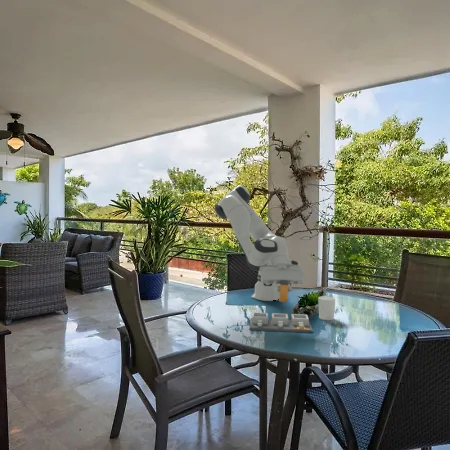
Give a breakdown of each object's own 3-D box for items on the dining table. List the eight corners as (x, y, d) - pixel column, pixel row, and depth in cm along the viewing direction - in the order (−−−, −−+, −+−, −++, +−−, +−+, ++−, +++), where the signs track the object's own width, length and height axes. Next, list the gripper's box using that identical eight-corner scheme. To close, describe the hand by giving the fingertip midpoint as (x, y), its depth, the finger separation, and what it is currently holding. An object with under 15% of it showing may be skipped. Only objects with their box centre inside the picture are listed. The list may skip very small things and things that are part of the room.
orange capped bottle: (277, 300, 163) (278, 280, 163) (285, 299, 164) (285, 280, 164) (281, 302, 159) (282, 282, 159) (289, 302, 160) (290, 282, 160)
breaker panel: (250, 320, 170) (250, 311, 170) (308, 322, 167) (308, 314, 167) (249, 329, 156) (249, 320, 156) (312, 332, 153) (312, 323, 153)
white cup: (334, 316, 177) (335, 296, 176) (335, 321, 169) (335, 300, 169) (318, 315, 179) (318, 295, 178) (317, 320, 171) (318, 299, 171)
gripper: (259, 261, 168) (261, 286, 158) (303, 262, 168) (307, 287, 159) (258, 269, 172) (260, 293, 163) (300, 270, 173) (304, 295, 163)
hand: (284, 290), depth 161 cm, fingers closed on orange capped bottle, 4 cm apart
